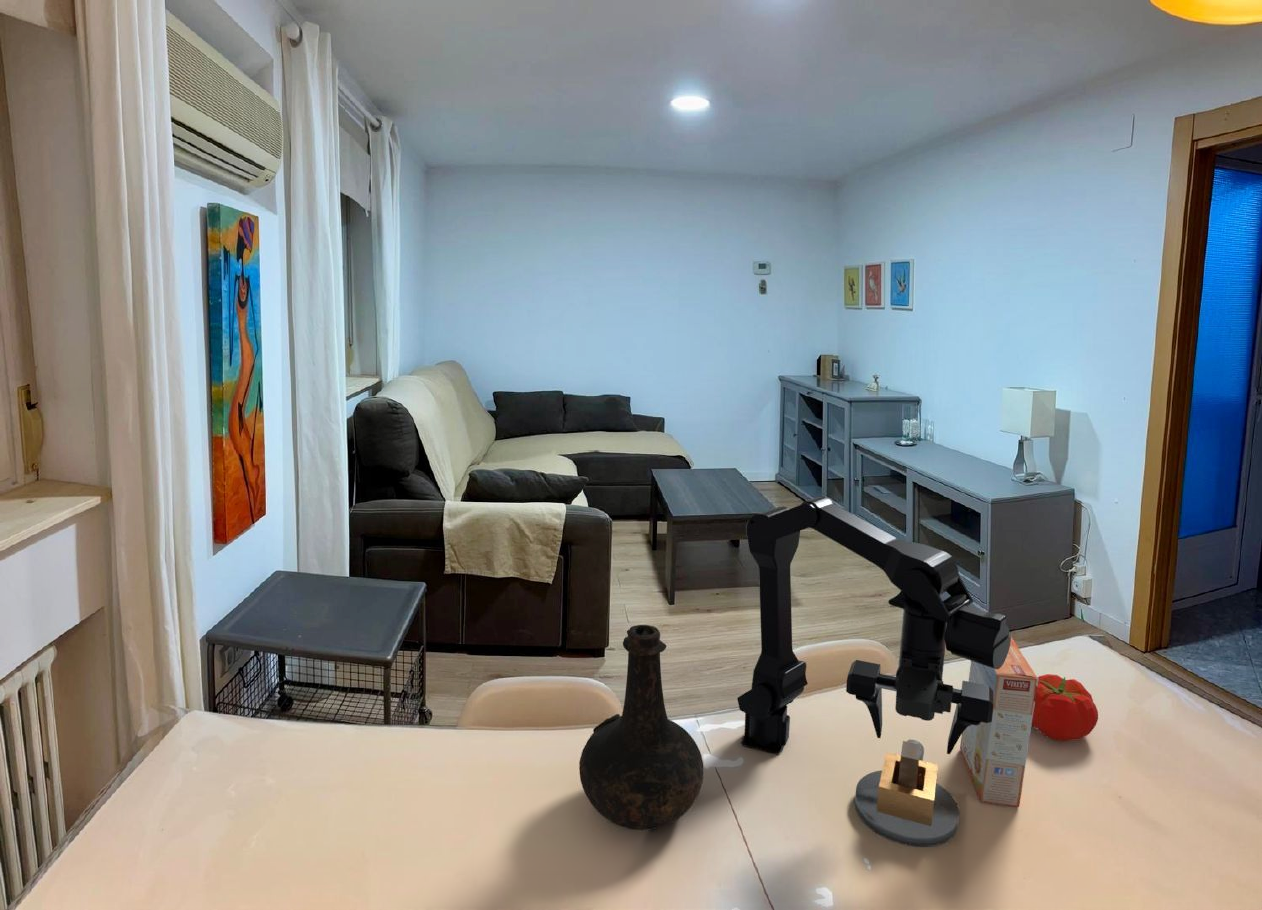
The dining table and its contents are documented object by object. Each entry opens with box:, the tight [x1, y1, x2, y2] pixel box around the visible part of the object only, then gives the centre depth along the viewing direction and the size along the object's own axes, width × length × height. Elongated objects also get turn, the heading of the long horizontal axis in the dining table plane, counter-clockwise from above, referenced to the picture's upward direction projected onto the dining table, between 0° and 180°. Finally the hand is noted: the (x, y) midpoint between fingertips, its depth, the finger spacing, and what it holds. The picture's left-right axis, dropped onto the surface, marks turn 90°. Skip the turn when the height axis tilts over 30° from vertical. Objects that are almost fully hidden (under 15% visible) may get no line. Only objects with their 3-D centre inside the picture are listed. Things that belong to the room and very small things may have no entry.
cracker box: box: [959, 636, 1038, 808], centre depth 118 cm, size 14×6×21 cm, turn 168°
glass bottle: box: [578, 624, 705, 831], centre depth 109 cm, size 18×18×28 cm
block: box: [898, 740, 921, 789], centre depth 110 cm, size 2×4×8 cm, turn 157°
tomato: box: [1031, 674, 1099, 742], centre depth 132 cm, size 13×12×8 cm
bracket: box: [854, 739, 960, 848], centre depth 113 cm, size 14×17×6 cm
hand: (913, 744), depth 109 cm, fingers open, 9 cm apart
